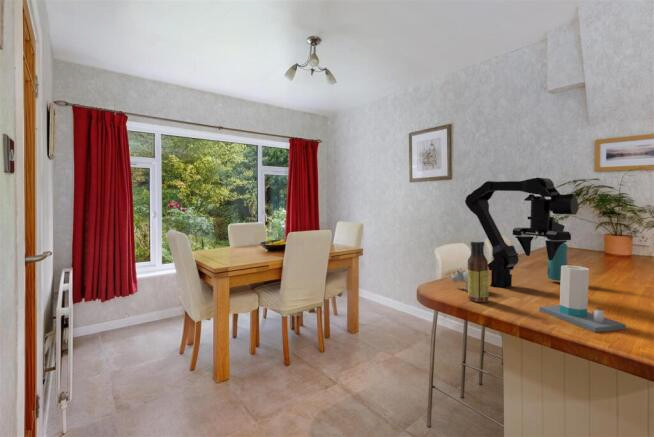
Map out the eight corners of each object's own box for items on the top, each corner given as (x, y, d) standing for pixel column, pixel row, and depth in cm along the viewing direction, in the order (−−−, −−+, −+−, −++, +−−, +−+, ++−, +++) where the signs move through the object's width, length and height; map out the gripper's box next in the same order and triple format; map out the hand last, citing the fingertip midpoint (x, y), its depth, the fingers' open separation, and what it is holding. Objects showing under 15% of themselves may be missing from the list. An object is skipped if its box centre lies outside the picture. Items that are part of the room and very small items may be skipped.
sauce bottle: (486, 298, 107) (488, 240, 106) (489, 304, 101) (491, 242, 100) (465, 296, 109) (467, 239, 108) (467, 302, 104) (469, 241, 102)
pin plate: (539, 310, 95) (540, 297, 95) (566, 308, 97) (567, 295, 97) (594, 332, 79) (595, 316, 79) (625, 329, 82) (626, 313, 81)
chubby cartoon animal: (454, 285, 125) (455, 263, 124) (487, 290, 117) (488, 267, 116) (447, 288, 120) (448, 266, 119) (481, 294, 112) (482, 271, 111)
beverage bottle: (570, 284, 125) (572, 234, 124) (553, 284, 125) (555, 234, 124) (558, 280, 132) (560, 232, 130) (542, 280, 132) (544, 232, 131)
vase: (560, 313, 89) (562, 268, 89) (559, 307, 94) (560, 264, 94) (587, 318, 86) (589, 270, 85) (584, 311, 91) (586, 266, 90)
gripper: (585, 214, 103) (583, 261, 104) (536, 212, 121) (535, 253, 122) (557, 214, 101) (555, 263, 102) (511, 213, 119) (510, 254, 120)
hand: (538, 257), depth 111 cm, fingers open, 9 cm apart
